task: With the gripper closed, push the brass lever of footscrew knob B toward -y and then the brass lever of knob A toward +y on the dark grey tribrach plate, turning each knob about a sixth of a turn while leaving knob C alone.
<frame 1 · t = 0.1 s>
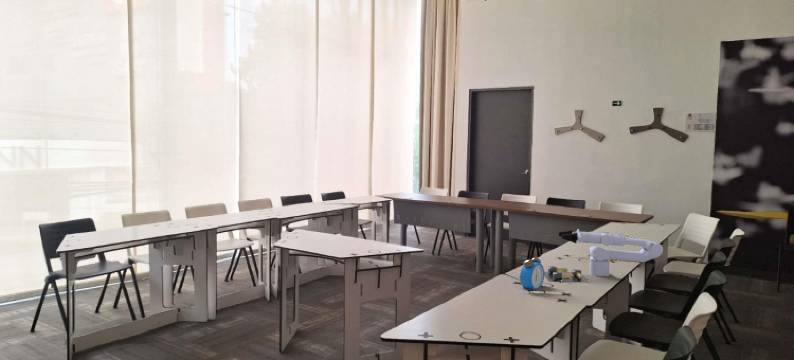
hand: (560, 235, 277), 22 cm above the table, tool horizontal, fingers open, 7 cm apart
knob A: (563, 276, 266), point 3 cm above the table, hinge at 0.0°
knob B: (557, 270, 278), point 3 cm above the table, hinge at 0.0°
alarm clock: (531, 289, 254), on the table
knob C: (578, 274, 268), point 3 cm above the table, hinge at 0.0°
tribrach: (564, 279, 272), on the table
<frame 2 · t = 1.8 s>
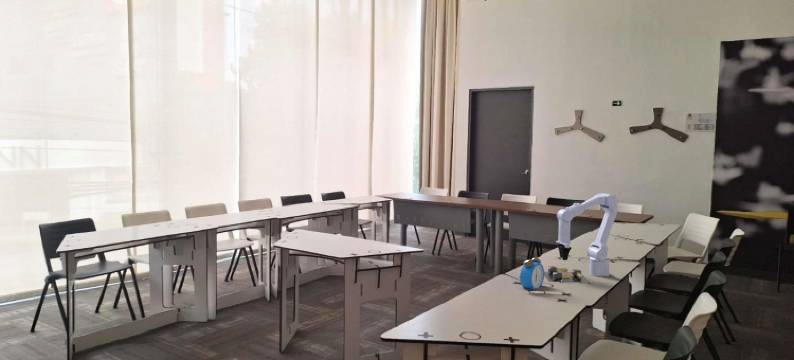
hand: (563, 258, 272), 10 cm above the table, tool pointing down, fingers open, 5 cm apart
nothing on the table moved.
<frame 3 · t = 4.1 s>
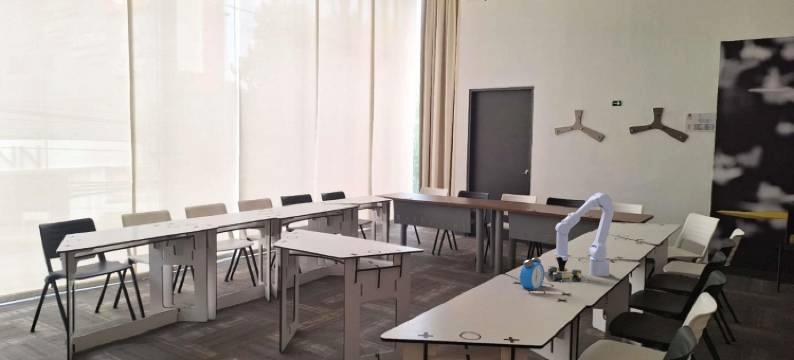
hand: (561, 271, 277), 3 cm above the table, tool pointing down, fingers closed, pressing on knob B
knob B: (557, 270, 278), point 3 cm above the table, hinge at 3.6°, touching gripper
everything else where it was.
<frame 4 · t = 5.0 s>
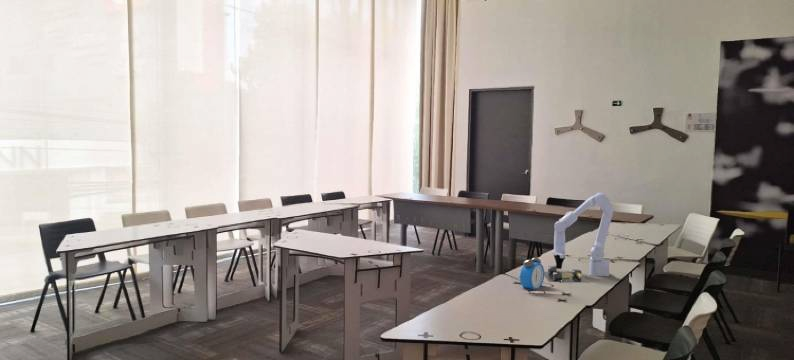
hand: (559, 268, 283), 3 cm above the table, tool pointing down, fingers closed, pressing on knob B
knob B: (553, 269, 281), point 3 cm above the table, hinge at 66.9°, touching gripper
everything else where it was.
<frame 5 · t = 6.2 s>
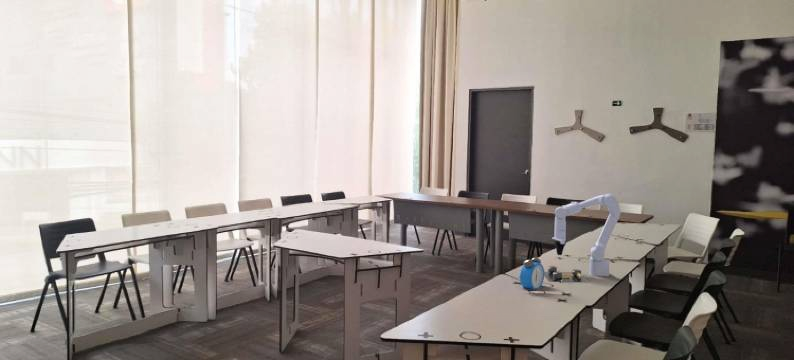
hand: (559, 254, 282), 10 cm above the table, tool pointing down, fingers closed
knob B: (552, 269, 281), point 3 cm above the table, hinge at 76.4°
everything else where it was.
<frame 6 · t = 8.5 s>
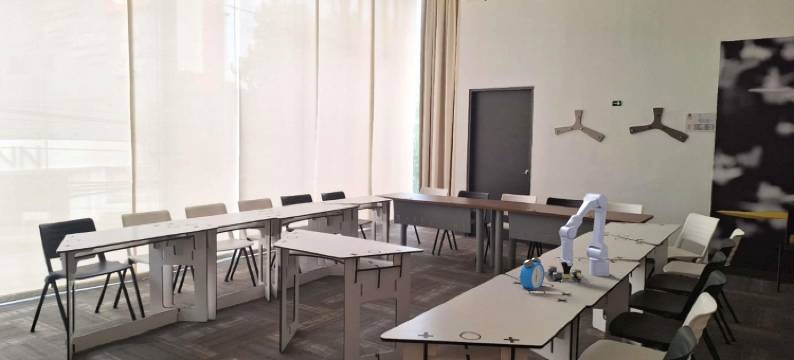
hand: (566, 276, 266), 3 cm above the table, tool pointing down, fingers closed, pressing on knob A
knob A: (563, 276, 266), point 3 cm above the table, hinge at -3.4°, touching gripper
knob B: (552, 269, 281), point 3 cm above the table, hinge at 77.1°
everything else where it was.
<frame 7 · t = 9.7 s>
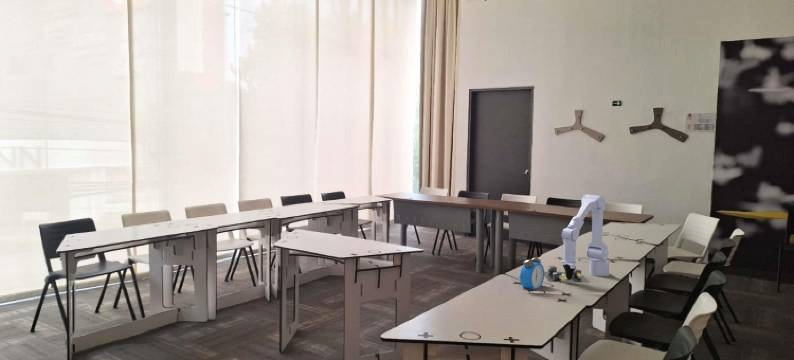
hand: (568, 279, 261), 3 cm above the table, tool pointing down, fingers closed
knob A: (560, 277, 263), point 3 cm above the table, hinge at -68.7°
everything else where it was.
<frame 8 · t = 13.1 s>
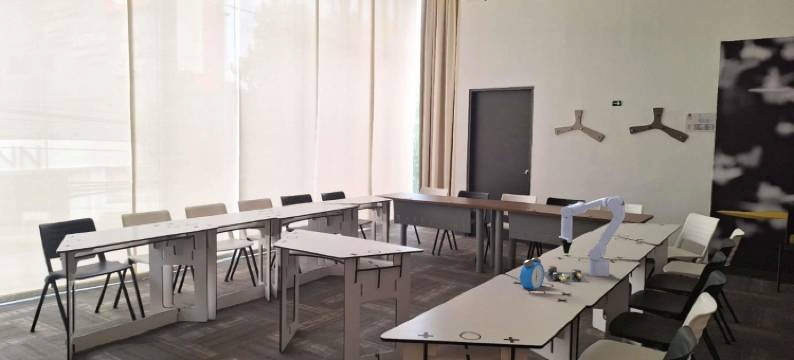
hand: (566, 253, 286), 10 cm above the table, tool pointing down, fingers closed
knob A: (560, 277, 263), point 3 cm above the table, hinge at -72.7°
everything else where it was.
at the end: knob B at +77° (first picture: +0°); knob A at -73° (first picture: +0°); knob C at +0° (first picture: +0°) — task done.
